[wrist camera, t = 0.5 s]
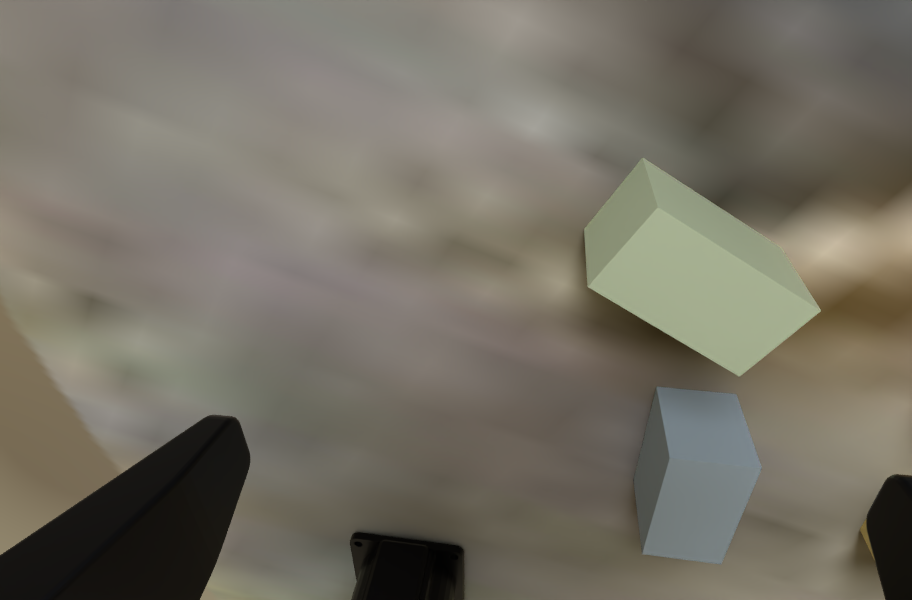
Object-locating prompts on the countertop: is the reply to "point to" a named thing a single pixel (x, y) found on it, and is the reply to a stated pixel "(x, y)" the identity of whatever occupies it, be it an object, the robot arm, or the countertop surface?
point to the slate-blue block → (693, 474)
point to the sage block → (694, 270)
